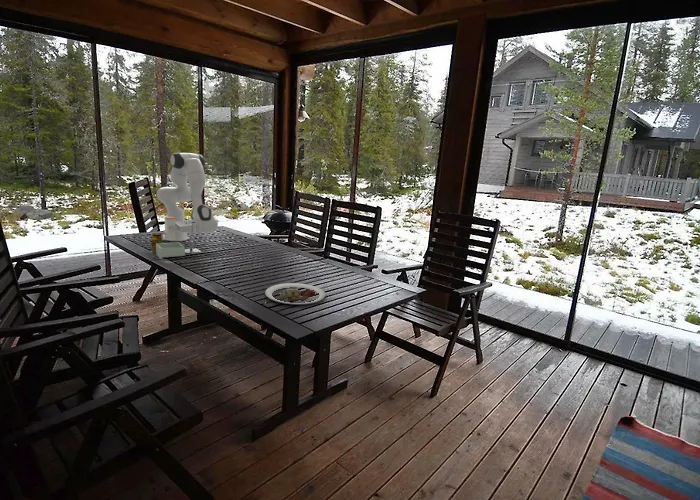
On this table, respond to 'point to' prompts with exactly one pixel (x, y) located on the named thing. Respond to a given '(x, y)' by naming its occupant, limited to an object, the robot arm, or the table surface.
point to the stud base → (191, 249)
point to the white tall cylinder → (169, 232)
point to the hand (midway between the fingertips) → (168, 226)
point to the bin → (169, 250)
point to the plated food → (295, 292)
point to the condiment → (155, 241)
